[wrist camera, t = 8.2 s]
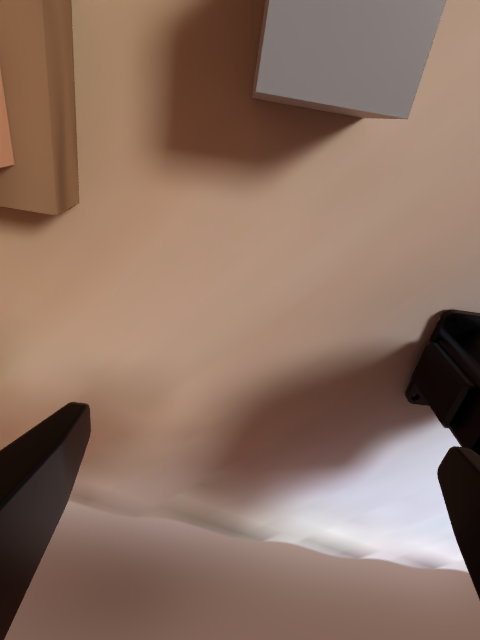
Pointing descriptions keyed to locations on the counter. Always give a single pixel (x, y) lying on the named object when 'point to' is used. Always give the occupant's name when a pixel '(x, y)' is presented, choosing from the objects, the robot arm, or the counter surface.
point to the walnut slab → (39, 105)
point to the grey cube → (345, 54)
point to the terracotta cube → (4, 132)
